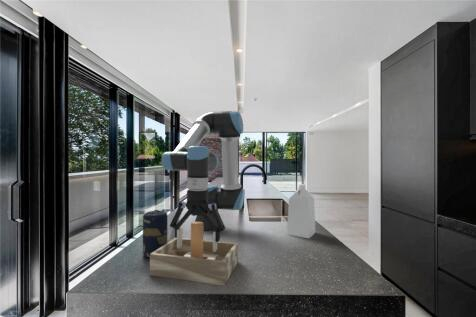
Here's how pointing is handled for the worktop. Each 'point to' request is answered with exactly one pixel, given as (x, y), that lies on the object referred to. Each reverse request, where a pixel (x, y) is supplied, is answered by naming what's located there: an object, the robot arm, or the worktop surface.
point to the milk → (301, 214)
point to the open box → (195, 262)
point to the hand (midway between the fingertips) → (196, 248)
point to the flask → (172, 234)
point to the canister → (154, 231)
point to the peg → (197, 240)
